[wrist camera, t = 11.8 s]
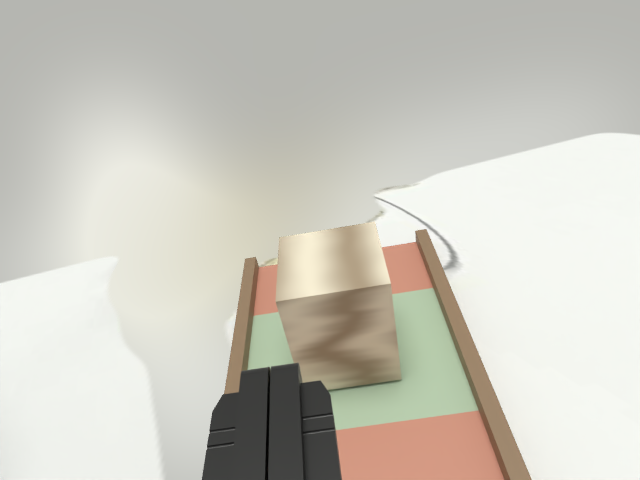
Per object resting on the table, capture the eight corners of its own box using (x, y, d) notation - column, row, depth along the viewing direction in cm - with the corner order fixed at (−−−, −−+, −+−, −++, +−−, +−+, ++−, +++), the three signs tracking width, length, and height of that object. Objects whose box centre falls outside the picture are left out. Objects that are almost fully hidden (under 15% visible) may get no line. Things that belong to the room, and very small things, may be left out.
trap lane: (197, 650, 26) (186, 638, 25) (249, 272, 54) (245, 258, 53) (574, 608, 25) (579, 593, 24) (427, 243, 53) (426, 229, 52)
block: (303, 393, 38) (275, 301, 33) (302, 323, 45) (279, 237, 39) (401, 379, 38) (390, 283, 32) (386, 310, 44) (374, 221, 39)
